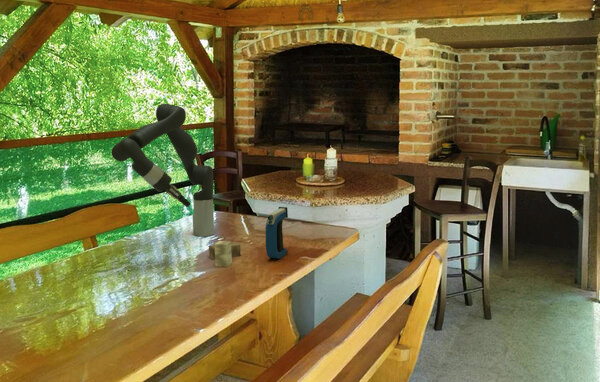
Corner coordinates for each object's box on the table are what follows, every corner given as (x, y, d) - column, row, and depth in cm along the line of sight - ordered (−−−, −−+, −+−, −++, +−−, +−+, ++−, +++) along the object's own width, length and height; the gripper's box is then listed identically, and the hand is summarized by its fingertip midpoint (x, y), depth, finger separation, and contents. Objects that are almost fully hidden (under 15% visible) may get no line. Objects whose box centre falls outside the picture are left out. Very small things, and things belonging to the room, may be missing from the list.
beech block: (215, 266, 248) (214, 244, 247) (220, 262, 253) (219, 241, 251) (227, 266, 247) (226, 244, 245) (231, 263, 252) (231, 241, 250)
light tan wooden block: (212, 248, 256) (240, 244, 262) (208, 245, 261) (235, 242, 266) (213, 260, 257) (240, 256, 262) (209, 257, 261) (236, 253, 267)
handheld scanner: (289, 251, 267) (288, 206, 264) (276, 262, 252) (274, 214, 249) (279, 251, 269) (278, 206, 265) (265, 261, 254) (263, 214, 250)
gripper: (167, 172, 239) (199, 201, 247) (159, 168, 251) (190, 195, 258) (153, 187, 238) (186, 215, 245) (146, 182, 250) (178, 209, 257)
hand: (188, 205), depth 252 cm, fingers closed
